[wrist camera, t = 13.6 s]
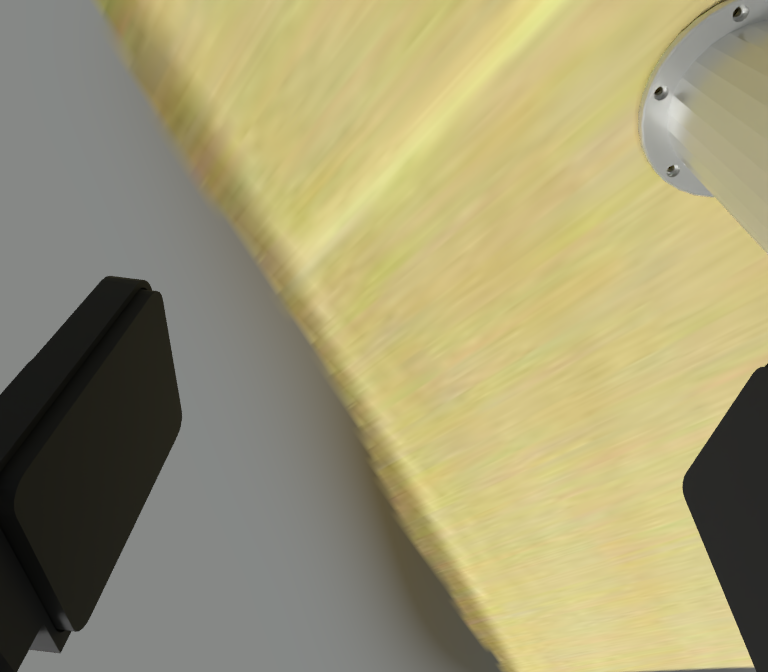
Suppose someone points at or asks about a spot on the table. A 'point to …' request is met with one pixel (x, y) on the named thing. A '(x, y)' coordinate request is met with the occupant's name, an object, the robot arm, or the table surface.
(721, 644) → the table surface
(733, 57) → the robot arm
